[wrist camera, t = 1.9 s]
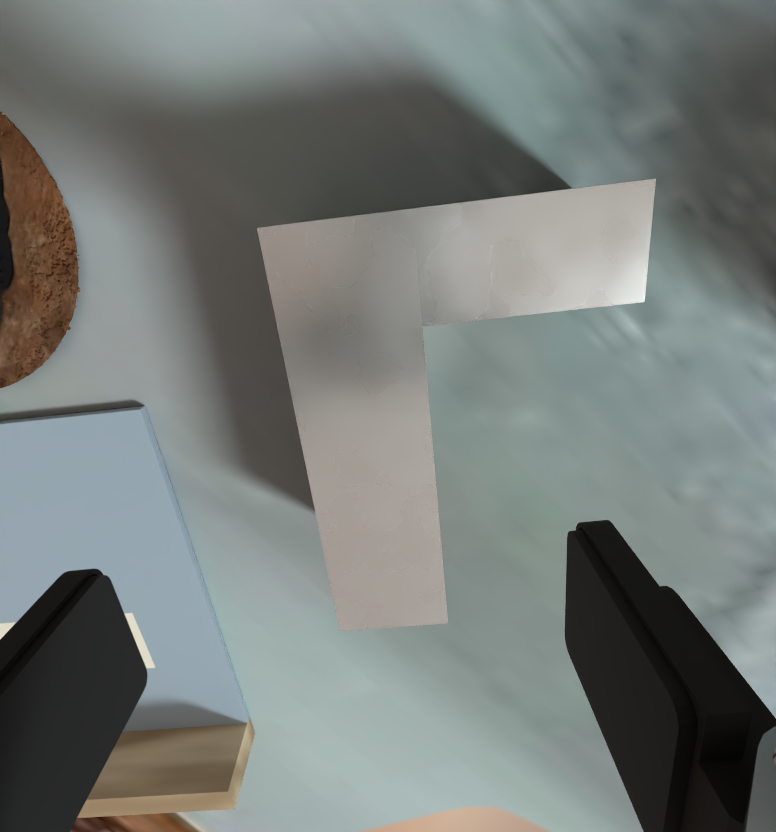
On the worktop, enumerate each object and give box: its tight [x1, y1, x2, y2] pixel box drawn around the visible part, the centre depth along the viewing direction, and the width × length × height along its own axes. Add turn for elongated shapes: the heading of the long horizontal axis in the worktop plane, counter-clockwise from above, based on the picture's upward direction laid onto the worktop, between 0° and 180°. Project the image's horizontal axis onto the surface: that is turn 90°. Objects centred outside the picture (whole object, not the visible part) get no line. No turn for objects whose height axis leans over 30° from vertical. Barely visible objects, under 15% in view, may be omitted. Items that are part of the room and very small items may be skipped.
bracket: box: [257, 179, 656, 631], centre depth 18 cm, size 14×10×6 cm
